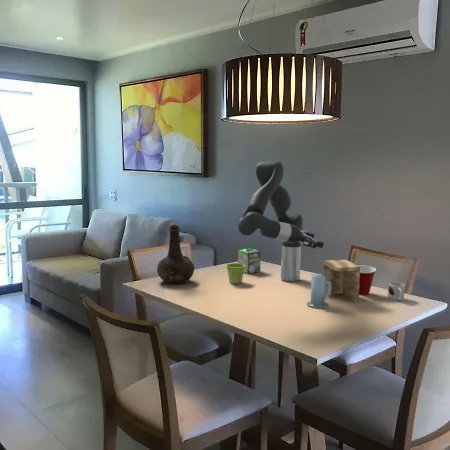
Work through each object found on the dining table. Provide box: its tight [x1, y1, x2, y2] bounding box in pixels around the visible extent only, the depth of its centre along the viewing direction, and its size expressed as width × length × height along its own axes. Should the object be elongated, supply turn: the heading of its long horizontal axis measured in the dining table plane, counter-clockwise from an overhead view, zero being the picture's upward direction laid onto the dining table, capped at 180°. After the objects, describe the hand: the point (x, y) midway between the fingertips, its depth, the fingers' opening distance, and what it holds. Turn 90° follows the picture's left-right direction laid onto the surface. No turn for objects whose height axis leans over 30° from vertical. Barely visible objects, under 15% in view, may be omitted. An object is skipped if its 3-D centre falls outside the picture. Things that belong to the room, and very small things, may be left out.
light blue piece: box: [310, 273, 332, 306], centre depth 207 cm, size 8×6×12 cm
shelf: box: [322, 259, 360, 303], centre depth 218 cm, size 11×14×15 cm
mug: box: [387, 281, 406, 302], centre depth 216 cm, size 10×7×7 cm
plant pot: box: [225, 262, 245, 285], centre depth 242 cm, size 9×9×9 cm
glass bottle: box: [156, 224, 195, 285], centre depth 241 cm, size 18×18×28 cm
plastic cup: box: [358, 264, 377, 296], centre depth 225 cm, size 11×11×12 cm
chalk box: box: [237, 243, 262, 275], centre depth 266 cm, size 9×9×15 cm
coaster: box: [306, 300, 330, 310], centre depth 207 cm, size 9×9×1 cm
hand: (318, 240), depth 206 cm, fingers open, 8 cm apart
